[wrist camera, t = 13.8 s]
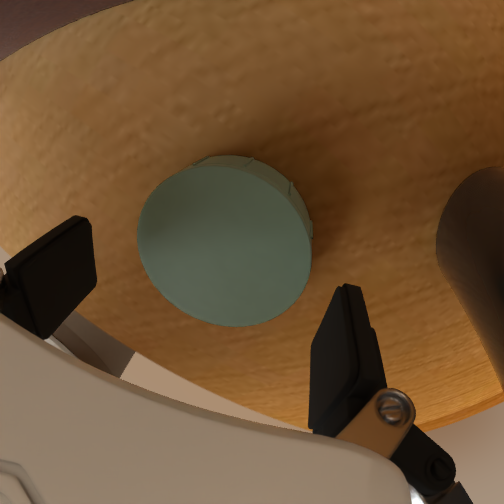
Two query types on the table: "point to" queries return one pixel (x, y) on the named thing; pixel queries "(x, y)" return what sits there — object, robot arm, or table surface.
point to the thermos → (477, 256)
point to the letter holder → (41, 19)
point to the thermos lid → (227, 241)
